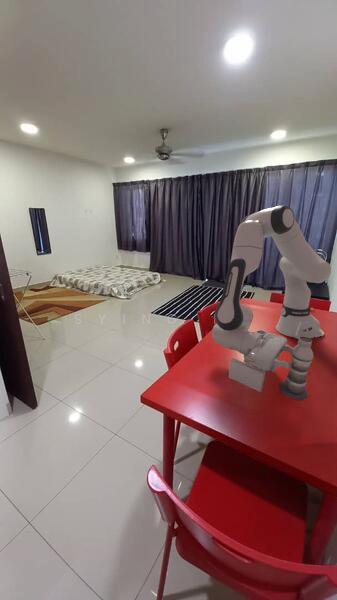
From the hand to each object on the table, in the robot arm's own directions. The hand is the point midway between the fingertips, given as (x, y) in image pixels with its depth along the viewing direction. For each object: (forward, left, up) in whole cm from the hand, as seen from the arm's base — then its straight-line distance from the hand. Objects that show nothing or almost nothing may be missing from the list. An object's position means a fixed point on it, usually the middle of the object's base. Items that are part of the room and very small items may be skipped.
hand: (293, 359), depth 81 cm
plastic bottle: (-2, +1, -12) cm, 12 cm away
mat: (-1, +1, -12) cm, 12 cm away
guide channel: (+9, -9, -12) cm, 17 cm away
